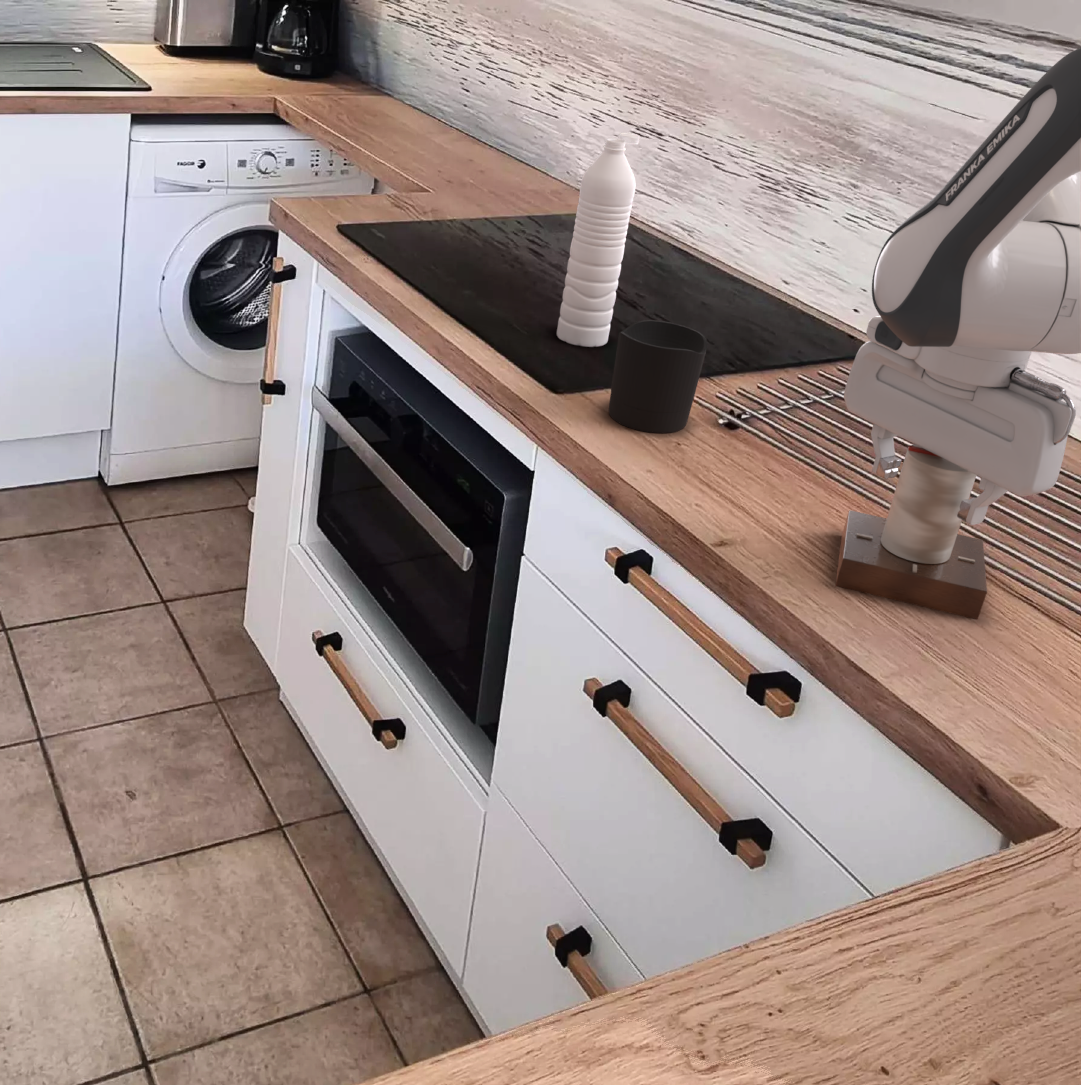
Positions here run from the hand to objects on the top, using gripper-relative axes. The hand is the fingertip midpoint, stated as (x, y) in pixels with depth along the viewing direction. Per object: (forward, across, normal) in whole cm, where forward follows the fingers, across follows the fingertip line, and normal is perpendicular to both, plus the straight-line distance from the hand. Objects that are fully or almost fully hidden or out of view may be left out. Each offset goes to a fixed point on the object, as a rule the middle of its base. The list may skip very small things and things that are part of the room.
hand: (925, 497), depth 125 cm
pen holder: (+8, +37, -2) cm, 38 cm away
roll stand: (+8, 0, 0) cm, 8 cm away
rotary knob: (+5, 0, 0) cm, 5 cm away
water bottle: (+9, +62, -13) cm, 64 cm away
